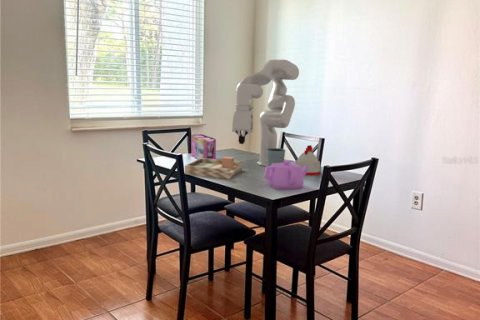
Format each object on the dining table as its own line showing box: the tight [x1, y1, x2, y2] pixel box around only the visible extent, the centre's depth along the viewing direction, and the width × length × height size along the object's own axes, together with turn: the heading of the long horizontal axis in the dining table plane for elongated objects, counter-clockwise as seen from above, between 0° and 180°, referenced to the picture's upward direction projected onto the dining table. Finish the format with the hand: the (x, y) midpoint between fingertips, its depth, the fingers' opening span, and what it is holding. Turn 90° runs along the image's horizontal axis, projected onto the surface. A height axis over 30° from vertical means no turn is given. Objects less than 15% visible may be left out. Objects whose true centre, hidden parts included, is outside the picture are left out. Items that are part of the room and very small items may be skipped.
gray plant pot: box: [267, 147, 286, 166], centre depth 231 cm, size 10×10×12 cm
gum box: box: [190, 133, 217, 160], centre depth 259 cm, size 24×8×14 cm, turn 26°
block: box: [221, 156, 235, 168], centre depth 226 cm, size 5×5×5 cm
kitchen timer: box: [294, 145, 321, 177], centre depth 230 cm, size 14×14×15 cm
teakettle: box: [263, 159, 309, 191], centre depth 199 cm, size 17×17×12 cm
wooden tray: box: [184, 158, 243, 179], centre depth 224 cm, size 24×22×4 cm
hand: (241, 143), depth 222 cm, fingers closed
